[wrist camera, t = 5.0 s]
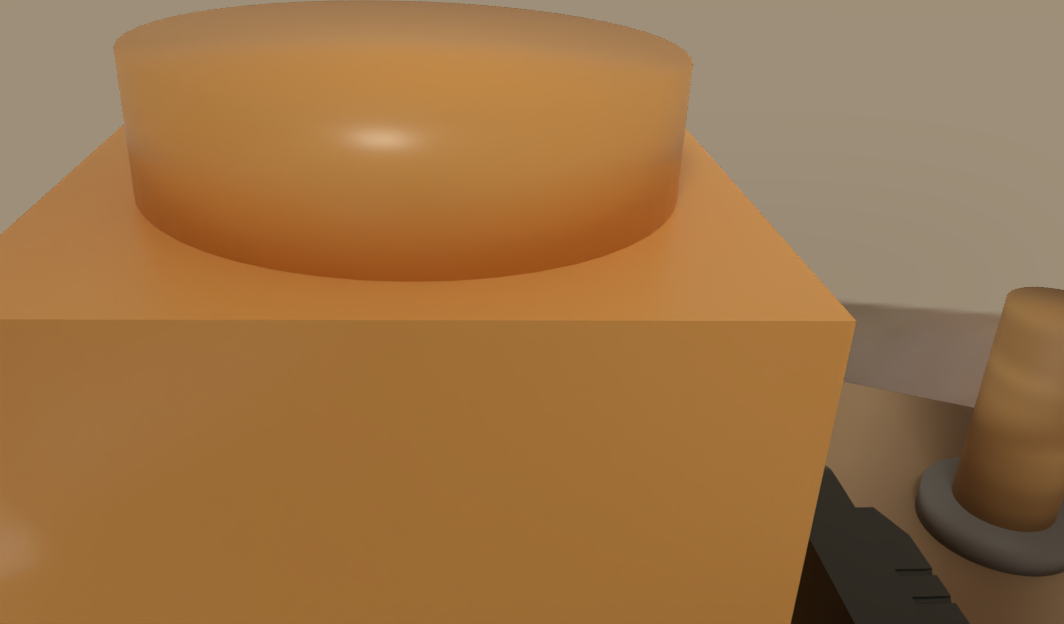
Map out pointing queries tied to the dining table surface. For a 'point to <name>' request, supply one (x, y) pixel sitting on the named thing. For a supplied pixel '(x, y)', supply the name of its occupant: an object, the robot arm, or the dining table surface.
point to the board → (893, 471)
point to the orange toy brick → (406, 338)
